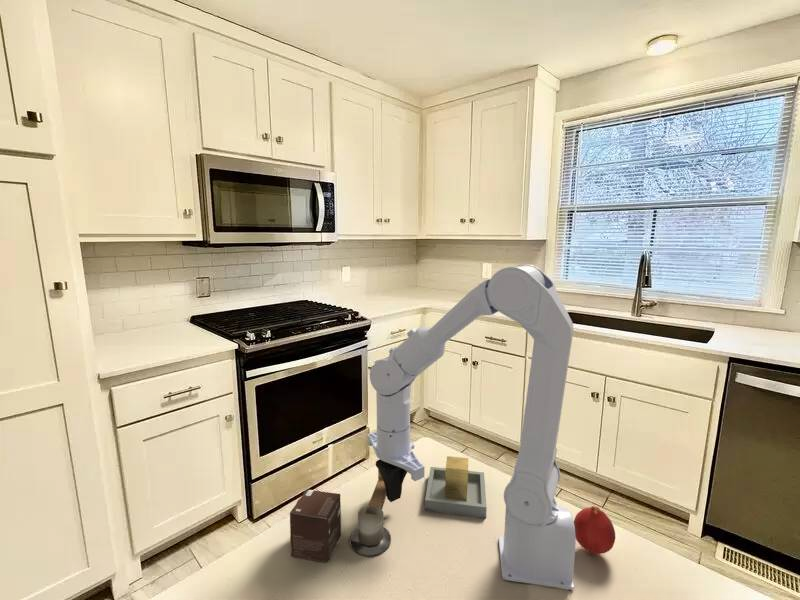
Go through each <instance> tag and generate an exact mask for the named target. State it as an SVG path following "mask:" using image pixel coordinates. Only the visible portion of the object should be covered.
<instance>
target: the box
mask: <svg viewBox="0 0 800 600" xmlns="http://www.w3.org/2000/svg"><path fill="white" fill-rule="evenodd" d="M341 511H342V510H341V493H335V492H330V491H329V492H328V491H321V490H313V489H306V490H305V491H304V492H303V494H302V495H301V497H300V498H299V499H298V500H297V501H296V503H295V505H294V507H292V509H291V511H290V512H289V534H290V537H289V539H290V556H291V557H292V558H298V559H303V560H310V561H315V562H321V563H329V561H330V559H331V558H332V555H333V553H334V551H335V550H336V547H337V545H338V543H339V541H340V538H341V537H342V515H341V513H342V512H341Z"/></svg>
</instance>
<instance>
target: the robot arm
mask: <svg viewBox="0 0 800 600" xmlns="http://www.w3.org/2000/svg"><path fill="white" fill-rule="evenodd" d="M496 313H500V314H502V315H504V316H505V317H507V318H509V319H511V320H513V321H514V322H517V323H518V324H519V325H521V327H522V328H523V329H524V330H525V331H526V332H527V333H528V334H529V336H530V337H532V339H533V347H532V353H531V359H530V369H529V376H528V382H527V383H528V385H527V390H526V391H527V392H526V399H525V408H524V415H523V422H522V429H521V436H520V445H519V449H518V454H517V457H516V462H515V466H514V471H513V473H512V476H511V478H510V480H509V482H508V483H507V485H506V486H505V488H504V492H503V502H504V504H505V516H504V517H505V518H504V532H503V533H504V535H503V536H499V537H498V547H499V557H500V565H501V575H502V579H503V580H505V581H511V582H517V583H525V584H530V585H537V586H545V587H550V588H557V589H564V590H573V589H574V587H575V584H574V582H573V581H574V580H573V578H574V569H575V568H574V566H575V556H576V541H577V540H576V538H575V526H574V517H573V515H572V512H571V510H569V509H568V508H564V507H562V506H558V504H557V501H556V498H555V495H556V490H557V486H558V484H559V482H560V479H561V472H560V467H559V466H558V463H557V453H558V449H557V444H558V436H559V430H560V422H561V416H562V408H563V402H564V396H565V389H566V382H567V375H568V369H569V362H570V356H571V348H572V341H573V336H574V324H573V320H572V319H571V317H570V315H569V313H568V310H567V309H566V306H565V305H564V303H563V301H562V299H561V297H560V295H559V293H558V290H557V289H556V285H555V283H554V281H553V280H552V279H551V278H550V277H549V276H548V275H547V274H545V273H544V272H543V271H542V270H541V269H540V268H539V267H537V266H536V265H533V264H526V263H525V264H518V265H516V266H507V267H503V268H501V269H499V270H498V271H496V272H495V273H494V274H493V275H492V276H491V278H487V279H485V280H483V281H482V282H481V283H479V284H478V285H476V286H475V287H474V288H473V289H471V290H470V291H469V292H467V294H466V295H465V296H464V297H462V298H461V299H460V301H458V302H457V303H456V304H455V305H454V306H453V307H452V308H451V309H449V310H448V311H447V312H446V313H445V314H444V315H443V317H441V318H440V319H439V320H438V321H437V322H436V323H435V324H433V326H432V327H427V326H420V327H418V328H416V327H414V328H412V329H410V330H409V331H408V332H407V333H406V336H407V338H406V339H405V340H404V341H402V342H401V343H400V344H399V345H398V346H394V347H391V348H390V349H389V350H388V353H389V354H388V356H386V357H385V358H381V359H378V360H376V361H375V362H374V364H373V365H372V366H371V369H369V381H370V383H371V385H372V387H373V389H374V390H375V391H376V395H375V396H376V431H374V432H371V433H368V434H366V445H368V446H369V447H372V449H373V450H374V455H376V457H377V458H378V460H376V461H375V467H376V468H377V469H378V470H379V472H380V474H381V476H382V478H383V481H384V485H385V488H386V499H387V500H388V501H389V502H390V503H392V502H394V501H397V500H399V499H401V496H402V490H403V483H404V481H405V478H406V475H407V474H409V475H410V477H411V480H413V482H416V481H419V480H421V479H423V478H425V465H424V464H422V463H421V461H420V460H419V459H418V457H417V456H416V455H417V454H415V452H414V449H415V443H413V442H412V441H411V387H412V384H413V382H414V381H415V380H416V379H417V377H418V376H419V375H421V374H422V373H423V372H425V371H426V370H427V369H428V368H429V367H431V366H432V365H433V364H435V363H436V362H437V361H438V360H439V359H441V358H442V357H443V356H444V354H445V351H446V349H445V348H446V343H447V342H448V341H450V340H451V339H452V338H453V337H455V336H456V335H457V334H458V333H460V332H461V331H462V330H464V329H465V328H466V327H468V326H469V325H470V324H471V323H473V322H474V321H476V320H477V319H478V318H479V317H482V316H493V315H495V314H496Z"/></svg>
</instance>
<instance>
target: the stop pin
mask: <svg viewBox="0 0 800 600" xmlns="http://www.w3.org/2000/svg"><path fill="white" fill-rule="evenodd" d="M445 463H446V464H445V468H446V477H445V498H448V499H456V500H465V501H467V486H468V471H469V458H467V457H458V456H449V455H447V456H446V461H445Z"/></svg>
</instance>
